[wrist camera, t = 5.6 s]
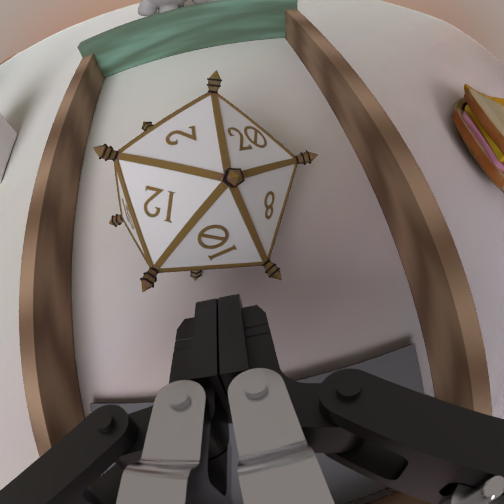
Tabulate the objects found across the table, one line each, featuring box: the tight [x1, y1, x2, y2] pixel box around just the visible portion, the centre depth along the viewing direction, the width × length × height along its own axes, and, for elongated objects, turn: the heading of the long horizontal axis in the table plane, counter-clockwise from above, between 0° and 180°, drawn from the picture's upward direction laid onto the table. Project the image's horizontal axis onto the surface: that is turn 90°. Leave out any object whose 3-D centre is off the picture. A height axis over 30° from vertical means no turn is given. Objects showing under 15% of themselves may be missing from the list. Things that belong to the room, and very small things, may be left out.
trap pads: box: [90, 344, 424, 504], centre depth 11 cm, size 8×17×1 cm, turn 101°
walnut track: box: [19, 0, 492, 504], centre depth 14 cm, size 40×21×5 cm, turn 11°
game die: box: [94, 70, 317, 292], centre depth 12 cm, size 9×8×10 cm
